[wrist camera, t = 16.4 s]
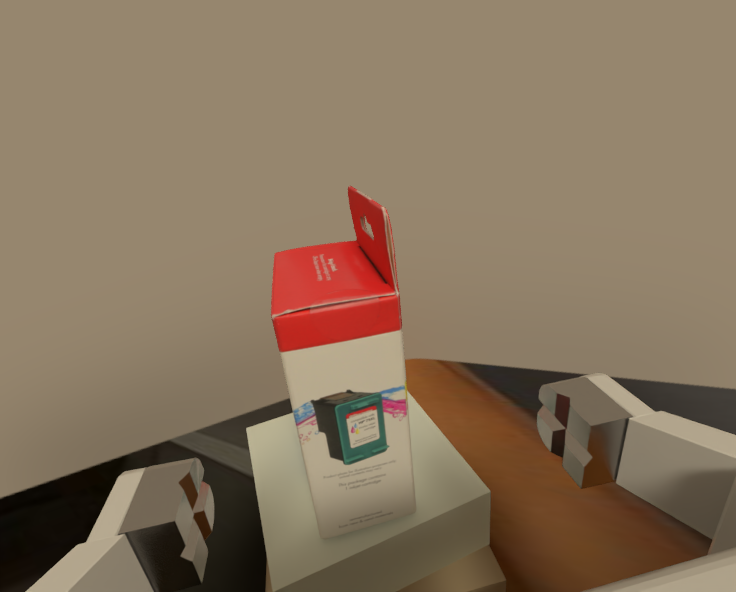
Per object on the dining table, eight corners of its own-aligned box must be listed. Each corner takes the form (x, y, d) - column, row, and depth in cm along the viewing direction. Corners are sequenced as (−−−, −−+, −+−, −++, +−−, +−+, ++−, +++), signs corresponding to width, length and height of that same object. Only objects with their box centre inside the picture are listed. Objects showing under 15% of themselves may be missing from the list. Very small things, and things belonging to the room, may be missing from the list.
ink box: (306, 425, 26) (259, 195, 20) (380, 408, 27) (354, 183, 21) (319, 546, 18) (248, 228, 13) (422, 518, 19) (398, 207, 13)
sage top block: (400, 420, 31) (396, 378, 30) (489, 544, 22) (490, 491, 20) (259, 472, 28) (246, 428, 26) (290, 645, 18) (272, 592, 17)
